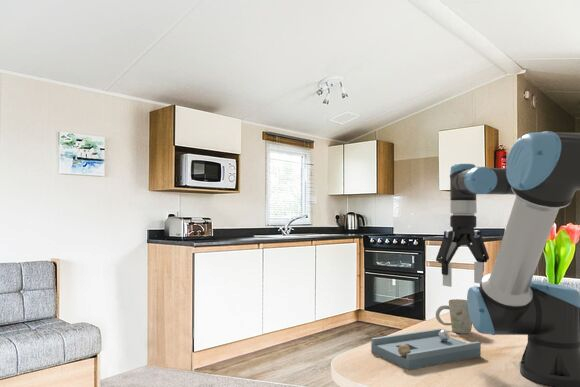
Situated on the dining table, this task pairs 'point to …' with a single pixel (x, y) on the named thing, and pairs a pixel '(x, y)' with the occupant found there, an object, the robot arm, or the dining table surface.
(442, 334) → the steel ball
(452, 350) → the plate
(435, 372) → the dining table surface
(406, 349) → the cork ball
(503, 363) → the dining table surface
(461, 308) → the mug
